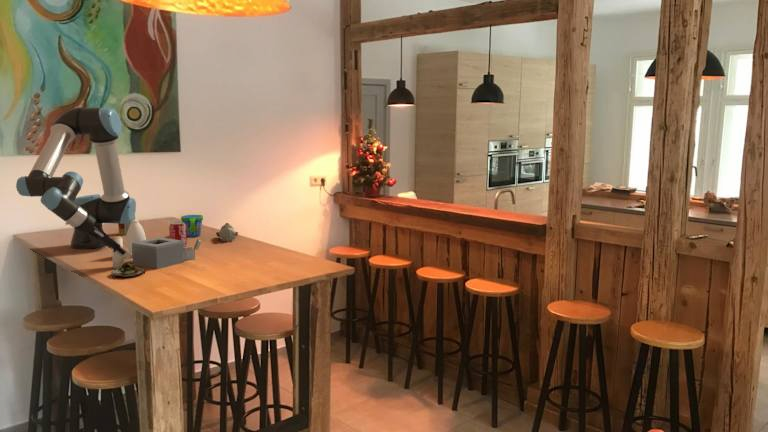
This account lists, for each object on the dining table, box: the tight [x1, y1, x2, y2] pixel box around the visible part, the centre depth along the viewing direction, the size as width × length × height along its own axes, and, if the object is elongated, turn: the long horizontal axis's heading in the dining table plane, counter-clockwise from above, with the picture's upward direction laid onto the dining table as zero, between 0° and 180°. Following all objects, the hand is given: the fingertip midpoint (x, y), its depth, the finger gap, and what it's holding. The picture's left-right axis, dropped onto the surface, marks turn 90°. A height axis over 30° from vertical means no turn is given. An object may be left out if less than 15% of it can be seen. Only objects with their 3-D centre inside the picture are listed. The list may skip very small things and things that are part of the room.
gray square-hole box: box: [131, 236, 185, 270], centre depth 247 cm, size 14×14×9 cm
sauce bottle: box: [125, 214, 147, 254], centre depth 260 cm, size 8×8×18 cm
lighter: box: [184, 239, 202, 261], centre depth 256 cm, size 7×2×8 cm, turn 128°
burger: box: [110, 258, 146, 279], centre depth 229 cm, size 12×12×8 cm
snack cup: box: [180, 214, 204, 238], centre depth 304 cm, size 16×10×10 cm
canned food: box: [118, 218, 134, 236], centre depth 306 cm, size 8×8×12 cm
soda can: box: [168, 221, 188, 250], centre depth 269 cm, size 7×7×13 cm
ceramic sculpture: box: [215, 222, 239, 243], centre depth 297 cm, size 11×9×15 cm
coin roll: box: [110, 236, 125, 270], centre depth 239 cm, size 4×4×12 cm
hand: (127, 256), depth 242 cm, fingers closed on coin roll, 4 cm apart
